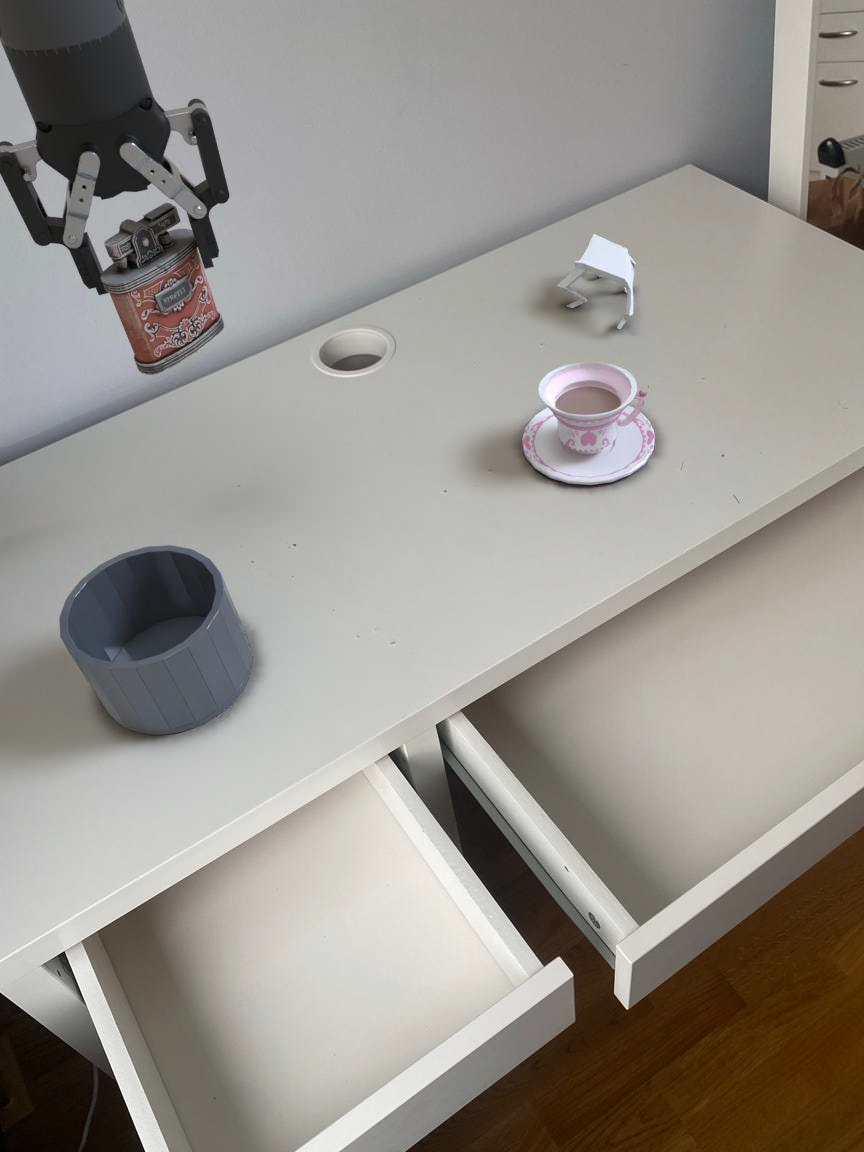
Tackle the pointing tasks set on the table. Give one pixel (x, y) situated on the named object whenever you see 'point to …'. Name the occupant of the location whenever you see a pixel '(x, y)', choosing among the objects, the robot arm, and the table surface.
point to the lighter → (160, 290)
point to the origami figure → (604, 270)
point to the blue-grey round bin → (158, 639)
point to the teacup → (589, 425)
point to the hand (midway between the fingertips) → (155, 275)
